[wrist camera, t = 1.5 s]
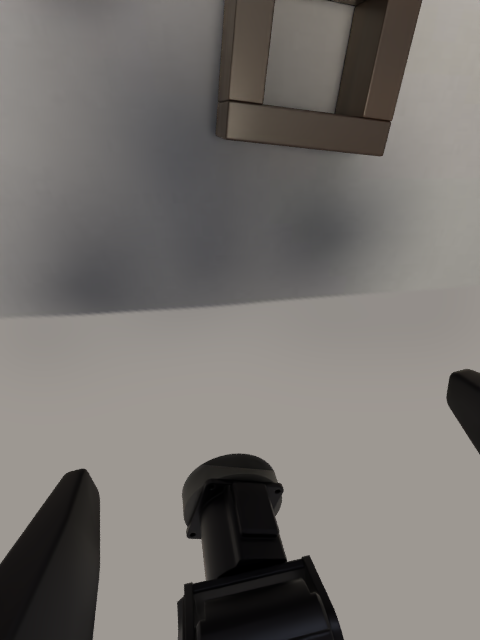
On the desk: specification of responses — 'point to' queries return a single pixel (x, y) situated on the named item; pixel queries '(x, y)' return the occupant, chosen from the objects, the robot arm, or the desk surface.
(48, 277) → the desk surface
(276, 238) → the desk surface
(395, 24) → the frame
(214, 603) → the robot arm
